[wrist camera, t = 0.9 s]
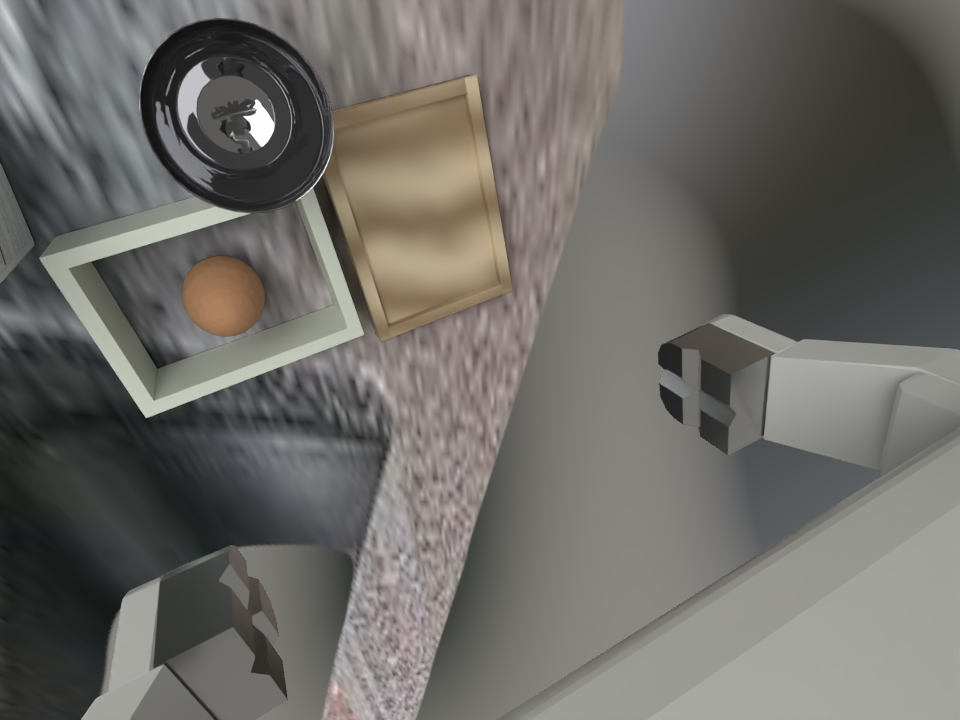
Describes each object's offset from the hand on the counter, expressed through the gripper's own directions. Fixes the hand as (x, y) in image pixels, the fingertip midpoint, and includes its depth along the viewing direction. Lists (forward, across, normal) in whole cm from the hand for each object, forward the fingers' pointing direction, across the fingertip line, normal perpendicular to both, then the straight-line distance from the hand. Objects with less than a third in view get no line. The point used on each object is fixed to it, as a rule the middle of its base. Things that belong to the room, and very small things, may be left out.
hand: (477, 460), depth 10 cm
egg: (+37, +6, +6) cm, 38 cm away
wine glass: (+36, +1, -5) cm, 37 cm away
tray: (+36, -10, +6) cm, 38 cm away
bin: (+36, +6, +6) cm, 37 cm away
